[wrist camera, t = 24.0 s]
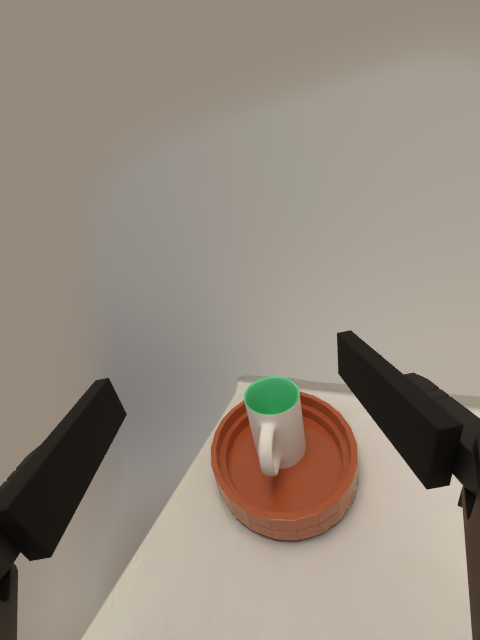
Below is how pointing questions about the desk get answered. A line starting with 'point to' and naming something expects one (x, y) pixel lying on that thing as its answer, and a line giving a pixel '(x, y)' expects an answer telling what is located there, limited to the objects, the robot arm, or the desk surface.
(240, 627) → the desk surface
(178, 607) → the desk surface
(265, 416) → the mug
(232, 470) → the bowl
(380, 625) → the desk surface
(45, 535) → the robot arm
